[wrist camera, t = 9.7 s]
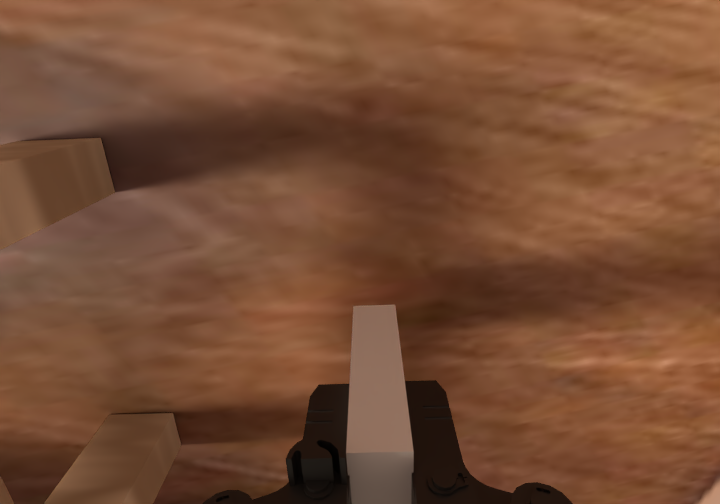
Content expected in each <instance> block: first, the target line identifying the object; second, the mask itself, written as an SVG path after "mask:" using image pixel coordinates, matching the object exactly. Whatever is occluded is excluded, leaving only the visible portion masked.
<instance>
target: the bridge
mask: <svg viewBox="0 0 720 504" xmlns="http://www.w3.org/2000/svg"><path fill="white" fill-rule="evenodd" d="M113 193H115V190H114V186H113V183H112V179H111V175H110V171H109V167H108V164H107V160H106V156H105V152H104V148H103V144H102V141H101V138H82V139H58V140H35V141H17V142H12V143H7V144H3V145H0V250H1V249H3V248H5V247H7V246H9V245H11V244H13V243H15V242H17V241H19V240H21V239H23V238H25V237H27V236H29V235H31V234H33V233H35V232H37V231H39V230H41V229H43V228H45V227H47V226H49V225H51V224H53V223H55V222H57V221H59V220H61V219H63V218H65V217H67V216H69V215H71V214H73V213H75V212H77V211H79V210H81V209H83V208H85V207H87V206H89V205H91V204H93V203H95V202H97V201H99V200H101V199H103V198H105V197H107V196H109V195H111V194H113ZM180 447H181V442H180V438H179V434H178V431H177V427H176V423H175V419H174V415H173V413H154V414H114V415H109V416H108V417H107V418H106V420H105V421H104V422H103V424H102V425H101V426H100V428H99V429H98V431H97V432H96V433H95V435H94V436H93V437H92V439H91V440H90V441H89V443H88V444H87V445H86V447H85V448H84V450H83V451H82V452H81V454H80V455H79V456H78V458H77V459H76V460H75V462H74V463H73V464H72V466H71V467H70V468H69V470H68V471H67V473H66V474H65V475H64V477H63V478H62V479H61V481H60V482H59V483H58V485H57V486H56V487H55V489H54V490H53V492H52V493H51V494H50V496H49V497H48V498H47V500H46V501H45V502H44V504H153V503H154V501H155V499H156V497H157V495H158V493H159V491H160V488H161V486H162V484H163V482H164V480H165V478H166V476H167V474H168V472H169V470H170V468H171V466H172V464H173V462H174V460H175V458H176V456H177V454H178V451H179V449H180ZM0 504H14V502H13V500H12V498H11V496H10V494H9V492H8V490H7V488H6V486H5V484H4V482H3V480H2V478H1V476H0Z"/></svg>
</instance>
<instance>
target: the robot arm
mask: <svg viewBox="0 0 720 504" xmlns="http://www.w3.org/2000/svg"><path fill="white" fill-rule="evenodd" d="M286 464H287V471H288V478H289V483H288V484H287V485H286V486H284V487H283V488H281V489H280V490H278V491H276V492H274V493H271V494H269V495H266V496H263V497H260V498H257V499H253V500H252V499H251V498H250V496H249V495H248V494H246V493H244V492H241V491H239V490H227V491H224V492H220V493H217V494H215V495H214V496H212V497H211V498H209V499H208V500H206V501H205V502H204V503H203V504H572V502H571V501H570V500H569V499H568V498H567V497H566V496H565V495H564V494H563V493H562V492H560V491H558V490H556V489H555V488H553V487H551V486H549V485H545V484H541V483H538V482H537V483H525V484H523V485H521V486H519V487H517V488H516V490H515V491H514V493H509V492H506V491H502V490H498V489H495V488H492V487H489V486H486V485H484V484H483V483H481V482H479V481H478V480H476V479H475V478H474V477H473V476H472V475H471V474H470V473H469V472H468V470H467V469H466V467H465V465H464V463H463V460H462V456H461V452H460V448H459V444H458V440H457V436H456V432H455V428H454V424H453V420H452V416H451V412H450V408H449V403H448V399H447V395H446V392H445V391H444V389H443V388H442V387H441V386H440V385H439V384H438V382H437V381H436V380H435V381H405V379H404V371H403V363H402V355H401V347H400V339H399V331H398V323H397V315H396V307H395V305H368V306H353V325H352V345H351V365H350V384H327V385H318V387H317V388H316V389H315V391H314V392H313V393H312V395H311V396H310V400H309V406H308V413H307V418H306V424H305V430H304V436H303V440H301V441H299V442H297V443H296V444H295V445H294V446H293V447H292V448H291V449H290V451H289V453H288V455H287V458H286Z"/></svg>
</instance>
